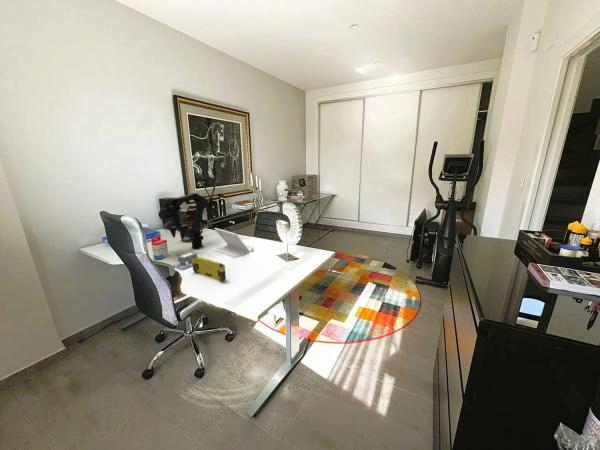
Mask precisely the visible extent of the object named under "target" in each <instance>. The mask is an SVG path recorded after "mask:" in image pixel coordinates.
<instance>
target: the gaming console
mask: <svg viewBox="0 0 600 450" xmlns="http://www.w3.org/2000/svg"><path fill="white" fill-rule="evenodd" d="M192 265H193V266H192V270H193V272H194V273H196V274H200V275H203V276H206V277H209V278H212V279H214V280H217V281H220V282H224V281H225V280H226V279H227V278H226V277H227V276H226V265H225V264H224V263H221V262H218V261H214V260H211V259H208V258H205V257H201V256H199V255H198V256H196V257H193V258H192Z"/></svg>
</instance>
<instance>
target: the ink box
mask: <svg viewBox="0 0 600 450" xmlns="http://www.w3.org/2000/svg"><path fill="white" fill-rule="evenodd" d="M161 237H162V236H161V235H157V236H155V237H151V239H150V240H151V241H150V242H151V248H152V256H153V260H157V261H160V260H162V259H165V258H166V257H169V256H170V255H169V249H168V241H167V239H163V238H161Z"/></svg>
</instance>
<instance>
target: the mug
mask: <svg viewBox="0 0 600 450" xmlns="http://www.w3.org/2000/svg"><path fill="white" fill-rule="evenodd" d="M193 222H194V220H193V221H182V222H181V223H182V225H188V226H189V228H192V226H193ZM199 228H200V231H201V233H200V235H203V232H204V231H203V223H202V222H201V223H200V227H199ZM187 233H188V230H187V231H186V233H185V236H184V238H183V239H181V238H180V241H181V243H187V244H188V243H192V240H190V238H189V237H188V234H187Z"/></svg>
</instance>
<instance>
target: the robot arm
mask: <svg viewBox="0 0 600 450" xmlns="http://www.w3.org/2000/svg"><path fill="white" fill-rule="evenodd" d="M189 201H193V202H195V207H196V209H195V213H194V219H193V221H194V222H193V226H192V228H189V226H188V225H182V222H181V220H182V219H183V218H182V217H181V213H180V210H182V209H183V208H182V207H181V206H182V205H183V204H184V203H187V202H189ZM208 203H209V201H208V199H207V197H203V196H202V195H200V194H199V193H197V192H191V193H189V194H186V195H182V196H179V197H170V198H168V199H167V202H166V204H165V205H164V208H160V209H159V212H158V217H159V219H160V220H162V221H163V220H166V219H169V220H168V221H166V222H165V223H163V224H162V227H163V228H164V230H167V231H168V230H169V232H170V234H171V236H172V238H175V237H176V232H179V234H180V240H181V239H183V238H184V236H185V233H186V231H187V230H188V233H187V234H188V237H189V238H190V240H192V242H191V249H195V250H198V249H201V248H204V247H205V246H204V245H203V240H204V236H203V234H201V235H200V233H201V229H200V226H201V225H200V223H202V218H203V214H204V211H205V209H206V208H207V206H208Z"/></svg>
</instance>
